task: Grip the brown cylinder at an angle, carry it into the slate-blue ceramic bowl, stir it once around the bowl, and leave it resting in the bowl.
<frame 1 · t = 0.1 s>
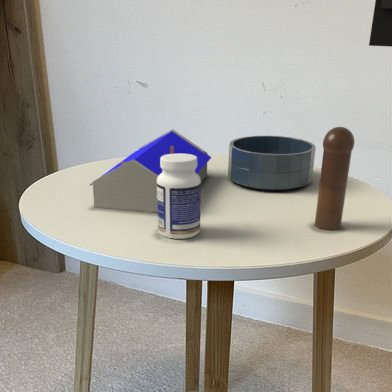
hand: (386, 41, 67), 23 cm above the table, tool pointing down, fingers open, 13 cm apart
brown cylinder: (327, 225, 84), on the table
pill bottle: (178, 233, 81), on the table
toy house model: (155, 190, 97), on the table
bowl: (269, 180, 103), on the table
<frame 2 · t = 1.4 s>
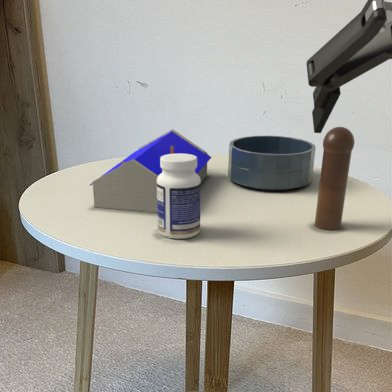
hand: (374, 124, 68), 15 cm above the table, tool tilted 45°, fingers open, 13 cm apart
nothing on the table moved.
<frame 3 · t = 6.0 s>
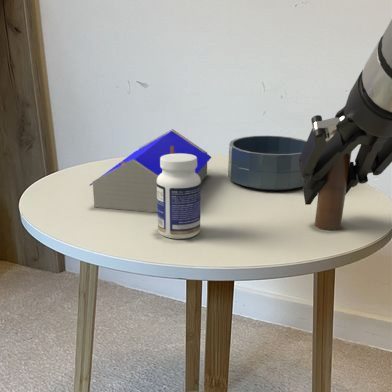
hand: (321, 195, 85), 3 cm above the table, tool tilted 45°, fingers closed on brown cylinder, 4 cm apart
brown cylinder: (327, 225, 84), on the table, touching gripper
everything else where it was.
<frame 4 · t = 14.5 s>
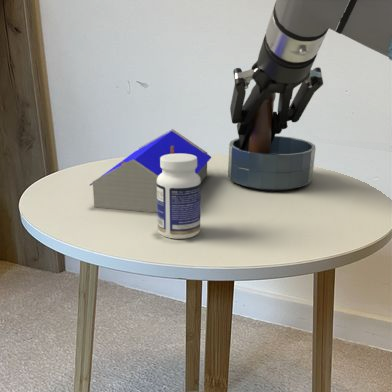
hand: (253, 142, 103), 6 cm above the table, tool tilted 45°, fingers closed on brown cylinder, 4 cm apart
brown cylinder: (258, 166, 101), point 2 cm above the table, touching gripper
everything else where it was.
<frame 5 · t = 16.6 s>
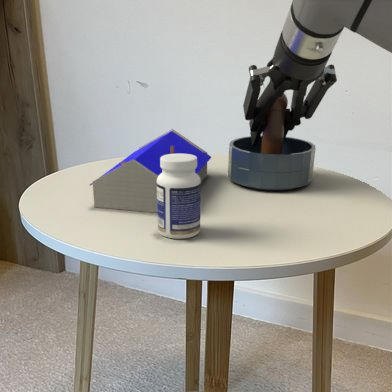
hand: (265, 138, 104), 6 cm above the table, tool tilted 45°, fingers closed on brown cylinder, 4 cm apart
brown cylinder: (270, 172, 103), point 1 cm above the table, touching gripper
everything else where it was.
when the fingers open (5 cm above the table, at t = 17.7 s): brown cylinder stays where it is, resting on bowl.
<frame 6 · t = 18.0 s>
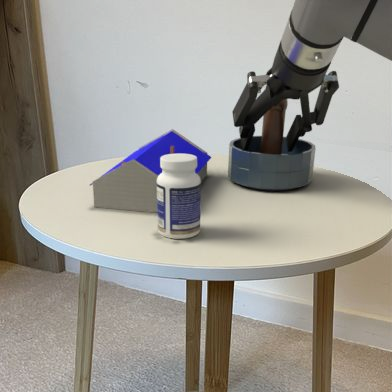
hand: (266, 145, 103), 5 cm above the table, tool tilted 45°, fingers open, 7 cm apart
brown cylinder: (268, 173, 104), point 1 cm above the table, tilted 5°, touching bowl
everything else where it was.
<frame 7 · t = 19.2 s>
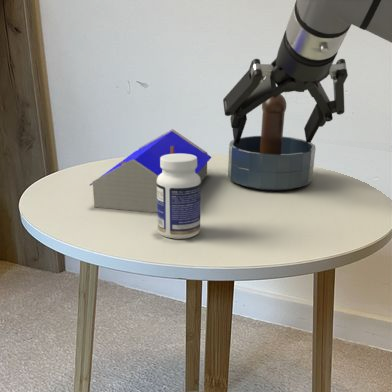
hand: (271, 135, 100), 7 cm above the table, tool tilted 45°, fingers open, 12 cm apart
brown cylinder: (268, 174, 104), point 1 cm above the table, touching bowl
everything else where it was.
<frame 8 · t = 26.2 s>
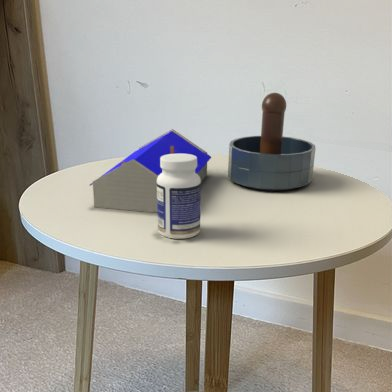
nothing on the table moved.
at the end: brown cylinder inside the target area in the bowl (1.6 cm from its centre), point 0.6 cm above the bowl's base; the gripper is holding nothing; brown cylinder moved 24.6 cm from its start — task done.
